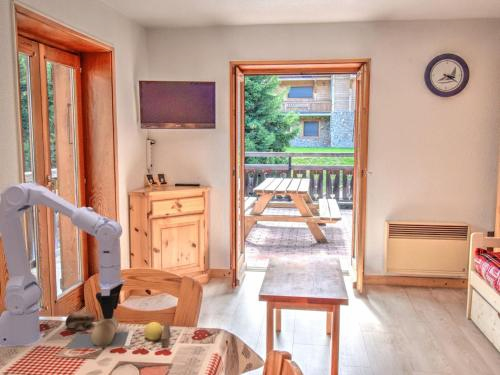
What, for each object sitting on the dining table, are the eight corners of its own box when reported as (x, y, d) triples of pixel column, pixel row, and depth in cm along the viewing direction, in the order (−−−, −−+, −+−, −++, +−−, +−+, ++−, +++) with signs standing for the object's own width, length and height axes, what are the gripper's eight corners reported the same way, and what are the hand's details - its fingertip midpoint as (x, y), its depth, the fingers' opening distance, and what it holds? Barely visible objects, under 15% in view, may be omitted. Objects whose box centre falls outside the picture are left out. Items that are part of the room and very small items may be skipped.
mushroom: (86, 326, 128) (83, 305, 131) (61, 336, 129) (58, 315, 132) (101, 329, 135) (97, 309, 138) (76, 339, 136) (74, 319, 139)
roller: (91, 346, 121) (91, 326, 120) (98, 333, 129) (97, 314, 129) (113, 345, 121) (112, 325, 121) (118, 332, 130) (118, 313, 130)
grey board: (66, 351, 119) (66, 348, 119) (76, 336, 129) (76, 333, 129) (129, 347, 121) (129, 345, 121) (133, 333, 131) (133, 331, 131)
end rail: (161, 347, 122) (161, 339, 121) (164, 330, 133) (164, 322, 133) (167, 347, 122) (167, 338, 122) (169, 330, 134) (169, 322, 133)
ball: (152, 347, 125) (139, 335, 124) (154, 339, 129) (141, 327, 129) (166, 334, 125) (153, 322, 124) (166, 327, 130) (154, 315, 129)
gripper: (120, 271, 117) (121, 322, 118) (128, 258, 132) (128, 304, 133) (92, 272, 117) (93, 323, 117) (103, 259, 131) (104, 305, 132)
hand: (110, 313), depth 125 cm, fingers open, 7 cm apart
